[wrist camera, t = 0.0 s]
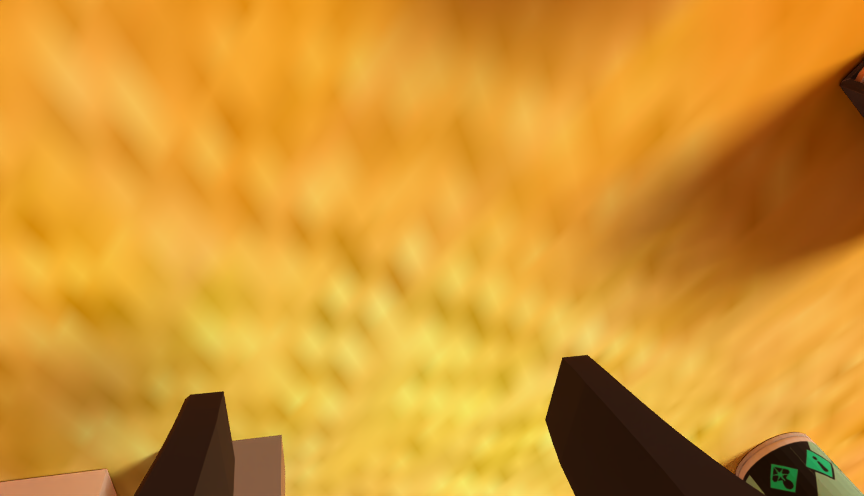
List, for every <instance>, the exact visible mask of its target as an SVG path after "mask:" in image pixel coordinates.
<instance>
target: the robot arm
mask: <svg viewBox="0 0 864 496" xmlns="http://www.w3.org/2000/svg"><path fill="white" fill-rule="evenodd" d="M545 420H546V423H547V427H548V430H549V433H550V436H551V439H552V442H553V445H554V448H555V451H556V453H557V456H558V459H559V462H560V464H561V467H562V469H563V471H564V473H565V475H566V477H567V479H568V481H569V484H570V486H571V488H572V490H573V492H574V494H575V496H766V495H765V494H763V493H762V492H760V491H759V490H757V489H756V488H754V487H753V486H751V485H750V484H748V483H747V482H745V481H744V480H742V479H741V478H739V477H738V476H736V475H735V474H733V473H732V472H730V471H729V470H728V469H726V468H725V467H723V466H722V465H721V464H719V463H718V462H716V461H715V460H714V459H712V458H711V457H710V456H708V455H707V454H706V453H704V452H703V451H702V450H701V449H699V448H698V447H697V446H695V445H694V444H693V443H691V442H690V441H689V440H687V439H686V438H685V437H684V436H682V435H681V434H680V433H679V432H677V431H676V430H675V429H674V428H672V427H671V426H670V425H669V424H667V423H666V422H665V421H664V420H663V419H661V418H660V417H659V416H658V415H657V414H655V413H654V412H653V411H652V410H651V409H649V408H648V407H647V406H646V405H645V404H644V403H642V402H641V401H640V400H639V399H638V398H637V397H635V396H634V395H633V394H632V393H631V392H630V391H628V390H627V389H626V388H625V387H624V386H623V385H622V384H620V383H619V382H618V381H617V380H616V379H615V378H614V377H612V376H611V375H610V374H609V373H608V372H607V371H606V370H604V369H603V368H602V367H601V366H600V365H599V364H597V363H596V362H595V361H594V360H593V359H591V358H590V357H589V356H588V355H584V356H574V357H564V358H562V361H561V365H560V368H559V372H558V376H557V379H556V383H555V386H554V390H553V394H552V397H551V401H550V405H549V408H548V412H547V416H546V419H545ZM234 471H235V456H234V450H233V444H232V438H231V432H230V427H229V421H228V415H227V409H226V403H225V397H224V391H223V392H213V393H203V394H193V395H190V396H189V397H187V398H186V399H185V401H184V403H183V405H182V408H181V410H180V412H179V414H178V416H177V418H176V420H175V423H174V425H173V427H172V429H171V431H170V432H169V434H168V436H167V438H166V440H165V442H164V444H163V446H162V448H161V449H160V451H159V453H158V455H157V457H156V459H155V460H154V462H153V464H152V466H151V467H150V469H149V471H148V472H147V474H146V476H145V477H144V479H143V481H142V483H141V484H140V486H139V488H138V489H137V491H136V493H135V495H134V496H233V494H234Z"/></svg>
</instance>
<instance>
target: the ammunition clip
mask: <svg viewBox="0 0 864 496" xmlns="http://www.w3.org/2000/svg"><path fill="white" fill-rule="evenodd" d="M840 87H841V88H842V90H843V91H844V92H845V94H846V95H847V96H848V98H849V99H850V100H851V102H852V103H853V104H854V106H855V107H856V108H857V110H858V111H859V112H860V114H861V115H862V116H863V118H864V60H863V61H862V62H861V63H860V64H859V65H858V66H857V67H856V68H855V69H854V70H853V71H852V72H851V73H850V74H849V75H848V76H847V77H846V78H845V79H844V80H843V81H842V82H841V84H840Z"/></svg>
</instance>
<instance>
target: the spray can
mask: <svg viewBox="0 0 864 496" xmlns="http://www.w3.org/2000/svg"><path fill="white" fill-rule="evenodd" d="M736 476H738V477H739V478H741V479H742V480H744V481H745V482H747V483H748V484H750V485H751V486H753V487H754V488H756V489H757V490H759V491H760V492H762V493H763V494H765V495H766V496H864V495H863V494H862V493H861V492H860V490H859V489H858V488H857V487H856V486H855V485H854V484H853V483H852V482H851V481H850V480H849V479H848V478H847V477H846V476H845V474H844V473H843V472H842V471H841V470H840V469H839V468H838V467H837V466H836V465H835V464H834V463H833V462H832V461H831V460H830V458H829V457H828V456H827V455H826V454H825V453H824V452H823V451H822V450H821V449H820V448H819V447H818V446H817V445H816V444H815V443H814V441H812V440H811V439H810V438H809V437H808V436H807V435H805V434H803V433H786V434H783V435H779V436H776V437H774V438H771V439H769V440H767V441H765V442H764V443H762V444H760V445H759V446H757V447H756V448H754V449H753V450H752V451H751V452H749V453H748V454H747V455H746V456H745V457H744V458H743V460H742V461H741V462H740V464H739V465H738V467H737V470H736Z"/></svg>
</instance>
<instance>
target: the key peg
mask: <svg viewBox="0 0 864 496" xmlns="http://www.w3.org/2000/svg"><path fill="white" fill-rule="evenodd" d="M232 444H233V450H234V456H235V471H234V494H233V496H285V465H284V455H283V445H282V435H278V436H269V437H261V438H253V439H244V440H236V441H232Z"/></svg>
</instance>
